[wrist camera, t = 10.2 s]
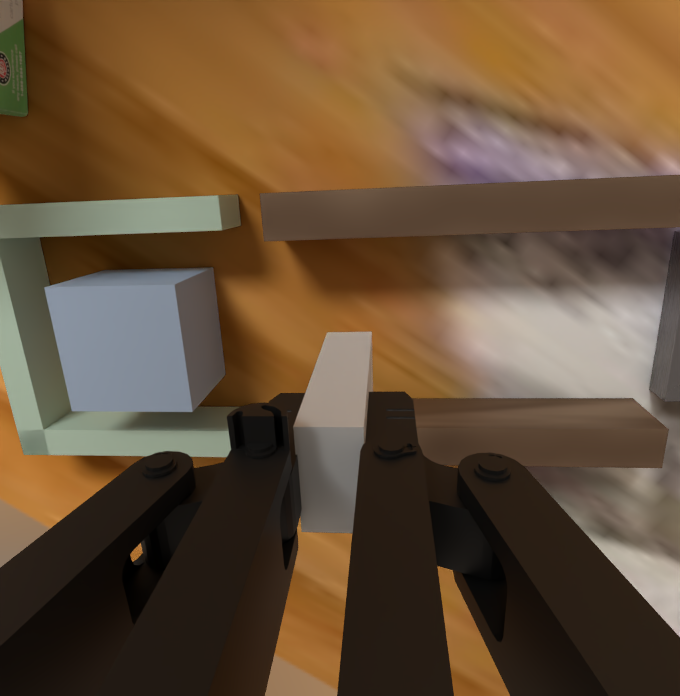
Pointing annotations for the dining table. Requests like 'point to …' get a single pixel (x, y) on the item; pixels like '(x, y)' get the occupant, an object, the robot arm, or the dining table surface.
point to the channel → (489, 218)
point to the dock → (40, 343)
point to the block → (138, 339)
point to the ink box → (12, 59)
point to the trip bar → (669, 334)
